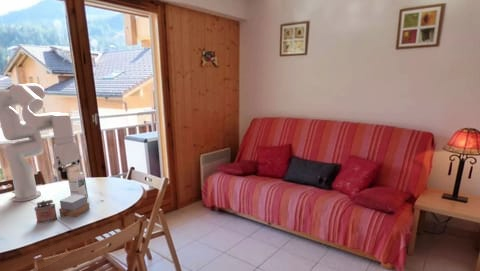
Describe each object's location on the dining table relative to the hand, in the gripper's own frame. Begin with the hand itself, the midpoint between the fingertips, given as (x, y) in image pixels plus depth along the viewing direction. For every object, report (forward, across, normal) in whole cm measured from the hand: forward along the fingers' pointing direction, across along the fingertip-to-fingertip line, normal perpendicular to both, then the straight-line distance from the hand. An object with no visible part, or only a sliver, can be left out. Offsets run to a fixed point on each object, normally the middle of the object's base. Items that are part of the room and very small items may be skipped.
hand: (70, 176), depth 135 cm
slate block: (+15, 0, 0) cm, 15 cm away
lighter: (+19, +10, -7) cm, 23 cm away
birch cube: (+1, 0, 0) cm, 1 cm away
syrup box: (+19, -14, -11) cm, 26 cm away
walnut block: (+19, 0, 0) cm, 19 cm away
